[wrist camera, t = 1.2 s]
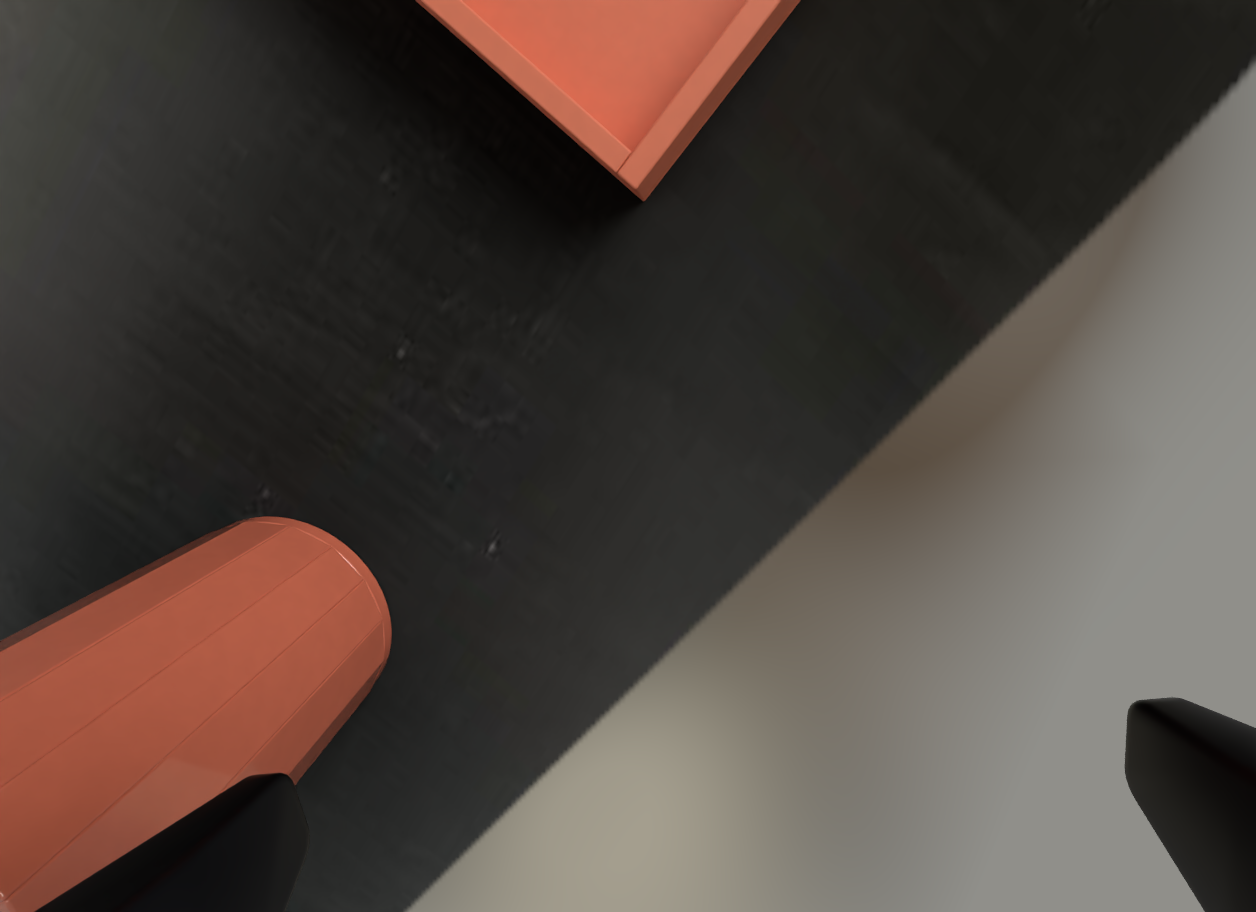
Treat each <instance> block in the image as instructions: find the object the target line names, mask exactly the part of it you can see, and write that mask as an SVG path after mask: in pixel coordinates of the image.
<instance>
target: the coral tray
mask: <svg viewBox="0 0 1256 912" xmlns="http://www.w3.org/2000/svg"><path fill="white" fill-rule="evenodd" d="M415 1H417V2H418V3H419V4H420V5H421V6H422V7H423V8H424V9H426V10H427V11H428V12H429V13H430V14H431V15H432V16H434V17H435V18H436V19H437V20H438V21H439V22H440V23H441V24H443V25H444V26H445V27H446V28H447V29H448V30H449V31H450V32H452V33H453V34H454V35H455V36H456V37H457V38H458V39H460V40H461V41H462V42H463V43H464V44H465V45H466V46H467V47H469V48H470V49H471V50H472V51H473V52H474V53H475V54H477V55H478V56H479V57H480V58H481V59H482V60H483V61H484V62H486V63H487V64H488V65H489V66H490V67H491V68H492V69H494V70H495V71H496V72H497V73H498V74H499V75H500V76H501V77H503V78H504V79H505V80H506V81H507V82H508V83H509V84H511V85H512V86H513V87H514V88H515V89H516V90H517V91H518V92H520V93H521V94H522V95H523V96H524V97H525V98H526V99H528V100H529V101H530V102H531V103H532V104H533V105H534V106H535V107H537V108H538V109H539V110H540V111H541V112H542V113H543V114H545V115H546V116H547V117H548V118H549V119H550V120H551V121H552V122H554V123H555V124H556V125H557V126H558V127H559V128H560V129H562V130H563V131H564V132H565V133H566V134H567V135H568V136H569V137H571V138H572V139H573V140H574V141H575V142H576V143H577V144H578V145H580V146H581V147H582V148H583V149H584V150H585V151H586V152H588V153H589V154H590V155H591V156H592V157H593V158H594V159H595V160H597V161H598V162H599V163H600V164H601V165H602V166H603V167H605V168H606V169H607V170H608V171H609V172H610V173H611V174H612V175H614V176H615V177H616V178H617V179H618V180H619V181H620V182H622V183H623V184H624V185H625V186H626V187H627V188H628V189H629V190H631V191H632V192H633V193H634V194H635V195H636V196H637V197H639V198H640V199H641V200H642V201H645V200H646V199H647V198H648V196H649V195H650V194H651V192H652V191H653V190H654V189H655V187H656V186H657V185H658V183H659V182H660V181H661V180H662V178H663V177H664V176H665V174H666V173H667V172H668V171H669V169H670V168H671V167H672V165H673V164H674V163H675V162H676V160H677V159H678V158H679V156H680V155H681V154H682V153H683V151H684V150H685V149H686V147H687V146H688V145H689V144H690V142H691V141H692V140H693V138H694V137H695V136H696V135H697V133H698V132H699V131H700V129H701V128H702V127H703V125H704V124H705V123H706V122H707V120H708V119H709V118H710V116H711V115H712V114H713V113H714V111H715V110H716V109H717V107H718V106H719V105H720V104H721V102H722V101H723V100H724V98H725V97H726V96H727V95H728V93H729V92H730V91H731V89H732V88H733V87H734V86H735V84H736V83H737V82H738V80H739V79H740V78H741V77H742V75H743V74H744V73H745V71H746V70H747V69H748V68H749V66H750V65H751V64H752V62H753V61H754V60H755V59H756V57H757V56H758V55H759V53H760V52H761V51H762V50H763V48H764V47H765V46H766V44H767V43H768V42H769V40H770V39H771V38H772V37H773V35H774V34H775V33H776V31H777V30H778V29H779V28H780V26H781V25H782V24H783V22H784V21H785V20H786V19H787V17H788V16H789V15H790V13H791V12H792V11H793V10H794V8H795V7H796V6H797V4H798V3H799V2H800V1H801V0H415Z"/></svg>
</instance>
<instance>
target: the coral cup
mask: <svg viewBox="0 0 1256 912" xmlns="http://www.w3.org/2000/svg"><path fill="white" fill-rule="evenodd" d="M391 631H392V629H391V619H390V614H389V610H388V606H387V602H386V600H385V597H384V595H383V592H382V590H381V588H380V586H379V584H378V582H377V580H376V578H375V577H374V576H373V574H372V573H371V571H370V570H369V568H368V567H367V566H366V565H365V563H364V562H363V561H362V560H361V559H360V558H359V557H358V555H357V554H355V553H354V552H353V551H352V550H351V549H350V548H349V547H348V546H347V545H345V544H344V543H343V542H341V541H340V540H338V539H337V538H336V537H334V536H333V535H331V534H329V533H327V532H326V531H324V530H322V529H320V528H317V527H315V526H313V525H310V524H308V523H305V522H301V521H298V520H295V519H289V518H283V517H266V516H265V517H255V518H249V519H245V520H241V521H238V522H235V523H233V524H230V525H228V526H226V527H224V528H222V529H220V530H217V531H214V532H211V533H208V534H206V535H205V536H203V537H201V538H199V539H197V540H195V541H193V542H191V543H189V544H187V545H185V546H183V547H181V548H179V549H177V550H176V551H174V552H172V553H170V554H168V555H166V556H164V557H162V558H160V559H158V560H156V561H154V562H152V563H150V564H148V565H147V566H145V567H143V568H141V569H139V570H137V571H135V572H133V573H131V574H129V575H127V576H125V577H123V578H121V579H119V580H118V581H116V582H114V583H112V584H110V585H108V586H106V587H104V588H102V589H100V590H98V591H96V592H94V593H92V594H90V595H89V596H87V597H85V598H83V599H81V600H79V601H77V602H75V603H73V604H71V605H69V606H67V607H65V608H63V609H61V610H60V611H58V612H56V613H54V614H52V615H50V616H48V617H46V618H44V619H42V620H40V621H38V622H36V623H34V624H32V625H31V626H29V627H27V628H25V629H23V630H21V631H19V632H17V633H15V634H13V635H11V636H9V637H7V638H5V639H3V640H2V641H0V912H34V911H36V910H38V909H39V908H41V907H42V906H44V905H45V904H47V903H49V902H50V901H52V900H53V899H55V898H56V897H58V896H60V895H61V894H63V893H64V892H66V891H68V890H69V889H71V888H72V887H74V886H75V885H77V884H79V883H80V882H82V881H83V880H85V879H86V878H88V877H90V876H91V875H93V874H94V873H96V872H97V871H99V870H101V869H102V868H104V867H105V866H107V865H109V864H110V863H112V862H113V861H115V860H116V859H118V858H120V857H121V856H123V855H124V854H126V853H127V852H129V851H131V850H132V849H134V848H135V847H137V846H139V845H140V844H142V843H143V842H145V841H146V840H148V839H150V838H151V837H153V836H154V835H156V834H157V833H159V832H161V831H162V830H164V829H165V828H167V827H168V826H170V825H172V824H173V823H175V822H176V821H178V820H180V819H181V818H183V817H184V816H186V815H187V814H189V813H191V812H192V811H194V810H195V809H197V808H198V807H200V806H202V805H203V804H205V803H206V802H208V801H209V800H211V799H213V798H214V797H216V796H217V795H219V794H221V793H222V792H224V791H225V790H227V789H228V788H230V787H232V786H233V785H235V784H236V783H238V782H239V781H241V780H243V779H244V778H246V777H248V776H251V775H256V774H268V773H284V774H287V775H288V776H289V777H290V778H291V779H292V781H293V783H294V786H295V785H296V783H297V782H298V781H299V780H300V778H301V777H302V776H303V775H304V773H305V772H306V771H307V770H308V768H309V767H310V766H311V765H312V763H313V762H314V761H315V760H316V758H317V757H318V756H319V755H320V753H321V752H322V751H323V750H324V748H325V747H326V746H327V745H328V743H329V742H330V741H331V740H332V738H333V737H334V736H335V735H336V733H337V732H338V731H339V730H340V728H341V727H342V726H343V725H344V723H345V722H346V721H347V720H348V718H349V717H350V716H351V715H352V713H353V712H354V711H355V710H356V708H357V707H358V706H359V705H360V703H361V702H362V701H363V700H364V699H365V697H366V696H367V695H368V693H369V692H370V690H371V688H372V686H373V684H374V683H375V682H376V680H377V679H378V678H379V676H380V674H381V673H382V671H383V669H384V667H385V665H386V662H387V659H388V656H389V651H390V646H391Z"/></svg>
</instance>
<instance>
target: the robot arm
mask: <svg viewBox="0 0 1256 912" xmlns="http://www.w3.org/2000/svg"><path fill="white" fill-rule="evenodd" d="M1125 774H1126V779H1127V782H1128V785H1129V788H1130V790H1131V792H1132V794H1133V796H1134V798H1135V800H1136V801H1137V803H1138V805H1139V806H1140V808H1141V809H1142V811H1143V813H1144V814H1145V816H1146V817H1147V819H1148V821H1149V822H1150V824H1151V825H1152V827H1153V829H1154V830H1155V832H1156V834H1157V835H1158V837H1159V838H1160V840H1161V842H1162V843H1163V845H1164V846H1165V848H1166V849H1167V851H1168V853H1169V855H1170V856H1171V858H1172V859H1173V861H1174V863H1175V864H1176V865H1177V867H1178V869H1179V871H1180V872H1181V874H1182V875H1183V877H1184V879H1185V880H1186V882H1187V883H1188V885H1189V887H1190V888H1191V890H1192V892H1193V893H1194V895H1195V896H1196V898H1197V900H1198V901H1199V903H1200V904H1201V906H1202V908H1203V909H1204V911H1205V912H1256V728H1254V727H1251V726H1249V725H1247V724H1244V723H1242V722H1239V721H1237V720H1234V719H1232V718H1229V717H1227V716H1224V715H1222V714H1219V713H1217V712H1214V711H1212V710H1209V709H1207V708H1204V707H1202V706H1199V705H1197V704H1194V703H1192V702H1189V701H1187V700H1184V699H1181V698H1161V699H1149V700H1139V701H1136V702H1134V703H1133V704H1132V705H1131V706H1130V708H1129V710H1128V715H1127V734H1126V752H1125ZM309 841H310V835H309V828H308V824H307V821H306V818H305V815H304V812H303V809H302V806H301V803H300V800H299V797H298V794H297V792H296V789H295V786H294V783H293V781H292V779H291V778H290V777H289V776H288V775H287V774H284V773H268V774H256V775H251V776H248V777H246V778H244V779H243V780H241V781H239V782H238V783H236V784H235V785H233V786H232V787H230V788H228V789H227V790H225V791H224V792H222V793H221V794H219V795H217V796H216V797H214V798H213V799H211V800H209V801H208V802H206V803H205V804H203V805H202V806H200V807H198V808H197V809H195V810H194V811H192V812H191V813H189V814H187V815H186V816H184V817H183V818H181V819H180V820H178V821H176V822H175V823H173V824H172V825H170V826H168V827H167V828H165V829H164V830H162V831H161V832H159V833H157V834H156V835H154V836H153V837H151V838H150V839H148V840H146V841H145V842H143V843H142V844H140V845H139V846H137V847H135V848H134V849H132V850H131V851H129V852H127V853H126V854H124V855H123V856H121V857H120V858H118V859H116V860H115V861H113V862H112V863H110V864H109V865H107V866H105V867H104V868H102V869H101V870H99V871H97V872H96V873H94V874H93V875H91V876H90V877H88V878H86V879H85V880H83V881H82V882H80V883H79V884H77V885H75V886H74V887H72V888H71V889H69V890H68V891H66V892H64V893H63V894H61V895H60V896H58V897H56V898H55V899H53V900H52V901H50V902H49V903H47V904H45V905H44V906H42V907H41V908H39V909H38V910H36V911H34V912H285V911H286V909H287V906H288V903H289V901H290V898H291V895H292V893H293V890H294V888H295V885H296V882H297V880H298V877H299V875H300V872H301V869H302V867H303V864H304V861H305V859H306V856H307V853H308V848H309Z"/></svg>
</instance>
